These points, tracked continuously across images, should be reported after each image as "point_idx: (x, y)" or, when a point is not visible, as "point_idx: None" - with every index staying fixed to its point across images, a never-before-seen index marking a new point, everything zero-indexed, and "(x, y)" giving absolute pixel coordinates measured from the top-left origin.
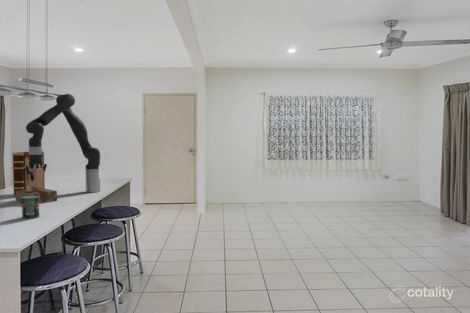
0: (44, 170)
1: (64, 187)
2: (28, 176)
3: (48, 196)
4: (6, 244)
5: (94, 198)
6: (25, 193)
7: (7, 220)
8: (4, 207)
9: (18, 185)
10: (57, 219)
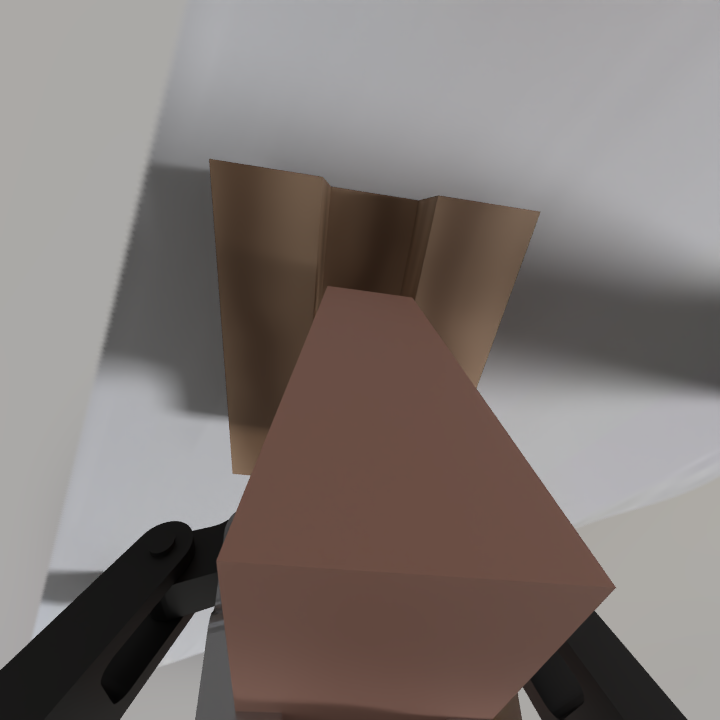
0: (539, 669)
1: None
2: (305, 340)
3: None
4: None
5: None
6: (228, 389)
7: (59, 572)
8: (100, 357)
9: None
10: (199, 641)
